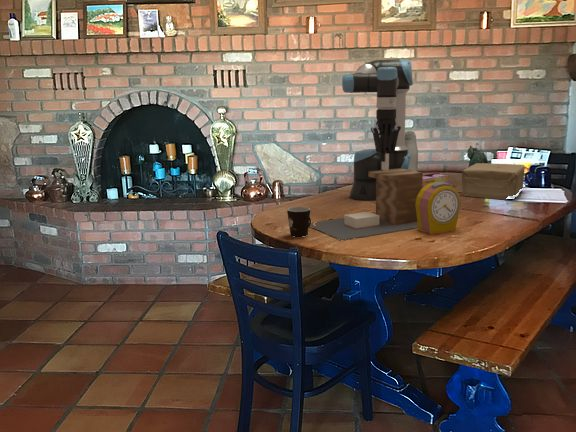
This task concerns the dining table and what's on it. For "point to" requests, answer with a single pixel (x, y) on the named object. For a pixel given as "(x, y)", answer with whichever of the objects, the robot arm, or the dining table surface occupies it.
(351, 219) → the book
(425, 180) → the gum box
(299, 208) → the coffee mug
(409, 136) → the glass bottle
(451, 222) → the alarm clock
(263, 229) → the dining table surface
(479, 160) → the ceramic cat
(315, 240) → the dining table surface
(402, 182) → the stand
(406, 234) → the dining table surface
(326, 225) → the mat
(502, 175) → the paper package
